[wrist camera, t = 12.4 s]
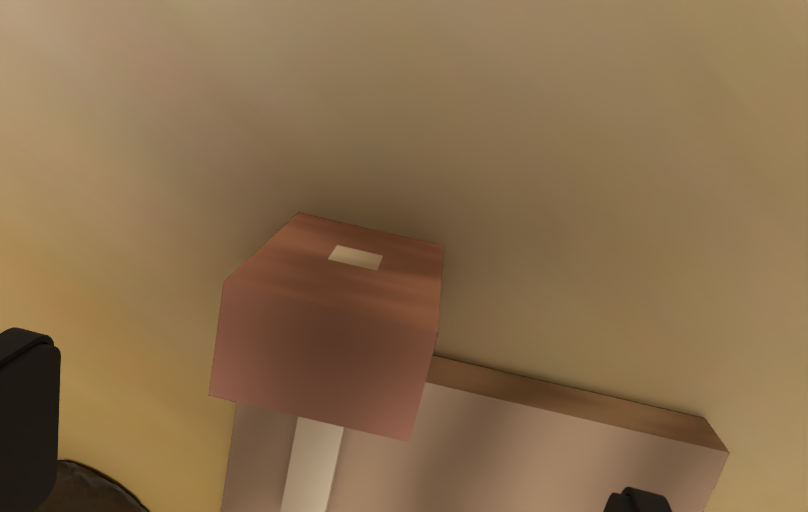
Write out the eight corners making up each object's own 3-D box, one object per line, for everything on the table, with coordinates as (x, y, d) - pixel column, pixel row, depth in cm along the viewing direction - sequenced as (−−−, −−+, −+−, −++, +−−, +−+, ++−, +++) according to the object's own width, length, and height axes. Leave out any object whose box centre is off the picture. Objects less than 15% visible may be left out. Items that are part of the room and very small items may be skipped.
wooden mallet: (443, 246, 20) (438, 331, 14) (383, 488, 24) (355, 654, 17) (298, 212, 21) (223, 281, 14) (257, 458, 24) (179, 612, 17)
